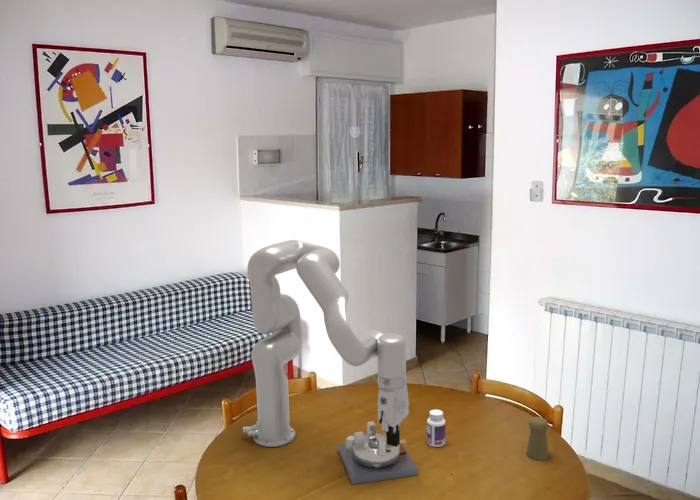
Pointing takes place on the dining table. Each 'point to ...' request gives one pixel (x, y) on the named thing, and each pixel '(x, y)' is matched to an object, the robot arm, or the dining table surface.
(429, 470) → the dining table surface
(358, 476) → the base plate
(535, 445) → the olive pawn
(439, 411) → the pill bottle
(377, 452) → the round disc with cubes
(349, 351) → the robot arm
